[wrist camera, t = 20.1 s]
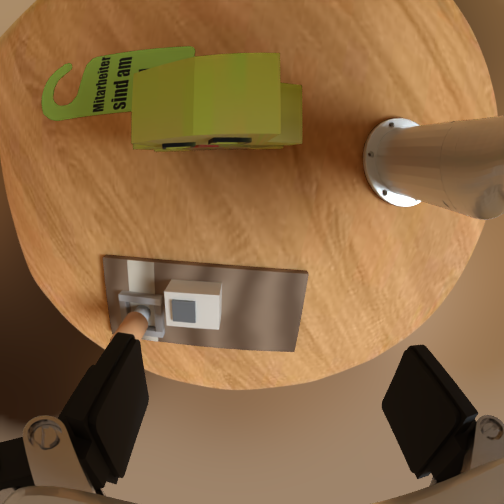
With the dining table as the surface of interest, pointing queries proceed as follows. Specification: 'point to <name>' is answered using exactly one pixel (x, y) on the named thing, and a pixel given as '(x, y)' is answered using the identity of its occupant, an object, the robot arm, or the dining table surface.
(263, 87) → the toy
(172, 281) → the block
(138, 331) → the tan rounded cylinder
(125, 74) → the door hanger
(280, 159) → the dining table surface
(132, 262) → the panel
